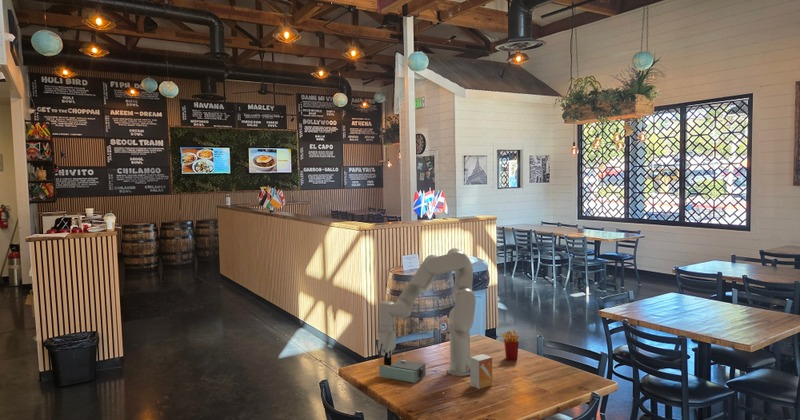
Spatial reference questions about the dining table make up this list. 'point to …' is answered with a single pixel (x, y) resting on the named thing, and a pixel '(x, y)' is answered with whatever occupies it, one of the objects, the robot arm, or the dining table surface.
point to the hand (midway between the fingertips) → (387, 364)
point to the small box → (481, 371)
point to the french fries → (511, 346)
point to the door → (397, 373)
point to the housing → (411, 367)
